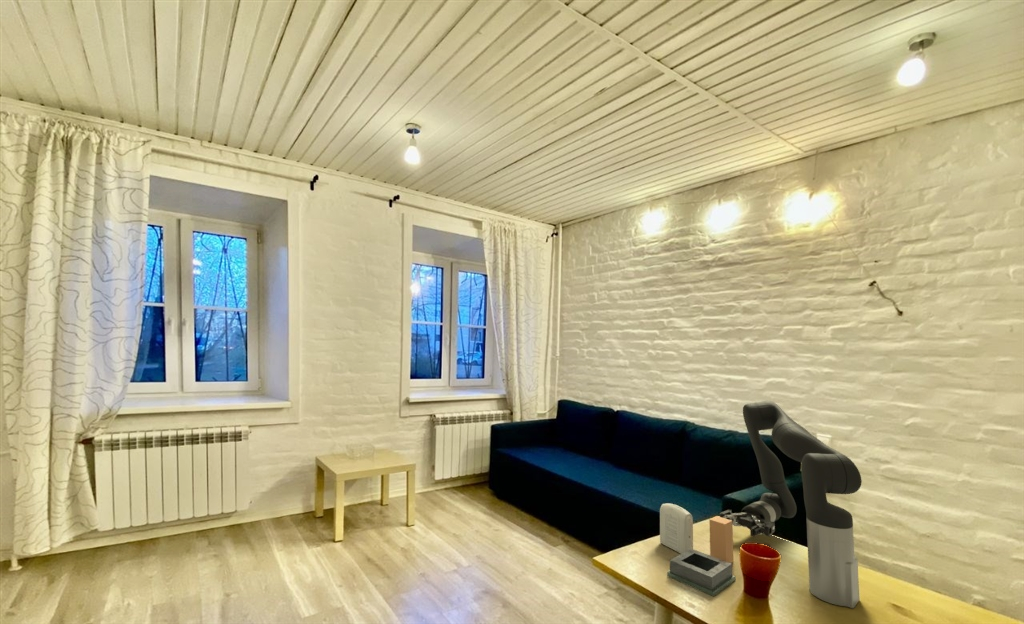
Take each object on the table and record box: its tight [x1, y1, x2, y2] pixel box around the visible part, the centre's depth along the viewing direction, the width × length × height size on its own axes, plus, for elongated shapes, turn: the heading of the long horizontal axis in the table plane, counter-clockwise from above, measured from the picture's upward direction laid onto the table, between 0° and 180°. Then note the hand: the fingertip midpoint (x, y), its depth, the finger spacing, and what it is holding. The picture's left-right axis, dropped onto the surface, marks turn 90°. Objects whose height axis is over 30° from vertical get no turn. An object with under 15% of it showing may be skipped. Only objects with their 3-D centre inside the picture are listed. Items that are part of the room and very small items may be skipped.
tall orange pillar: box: [708, 515, 734, 564], centre depth 122 cm, size 4×4×11 cm
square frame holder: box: [666, 548, 736, 597], centre depth 112 cm, size 12×12×4 cm
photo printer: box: [659, 502, 694, 554], centre depth 130 cm, size 10×4×12 cm, turn 28°
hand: (736, 528), depth 129 cm, fingers open, 8 cm apart
